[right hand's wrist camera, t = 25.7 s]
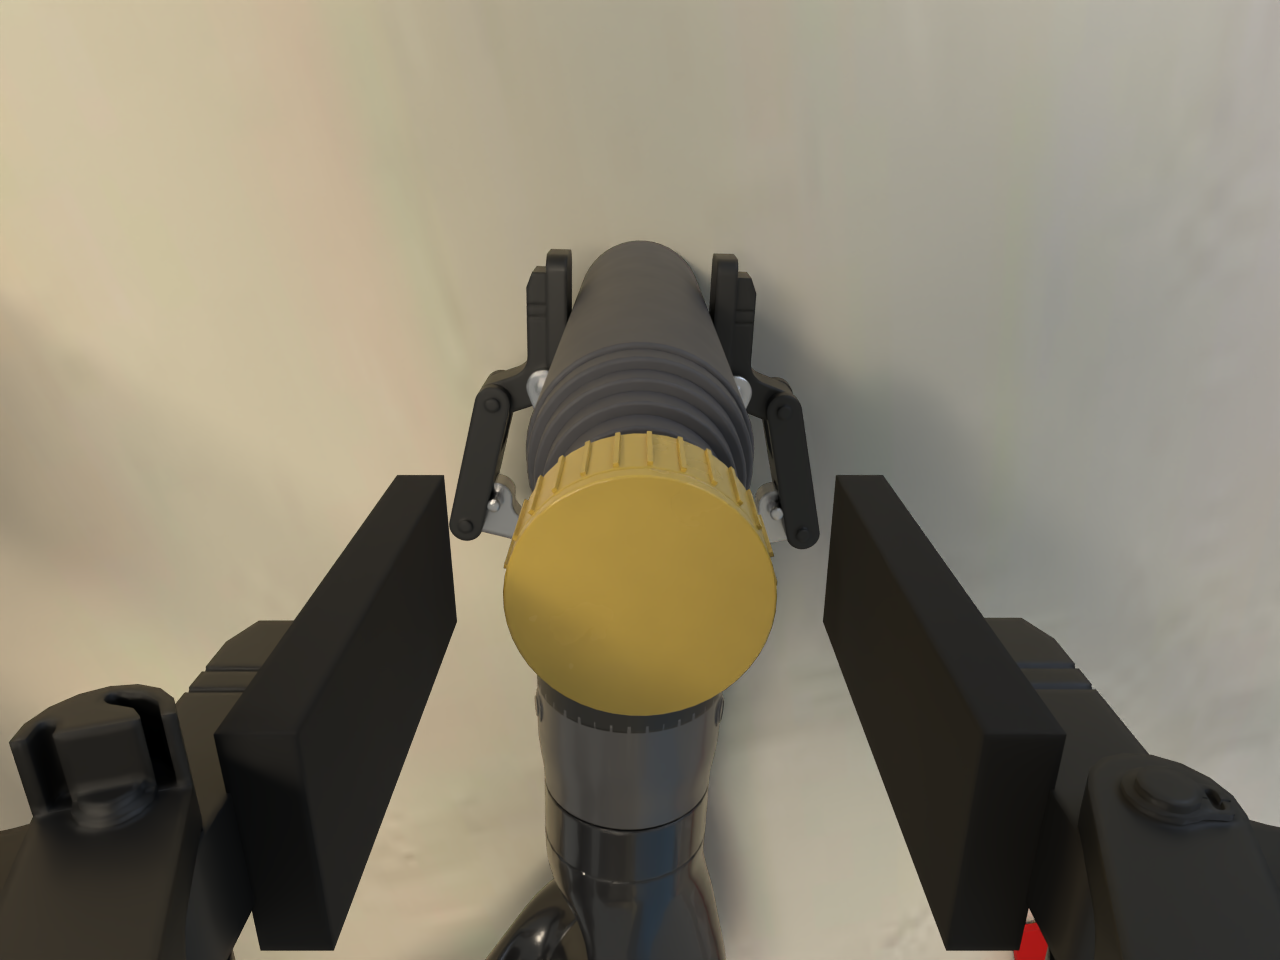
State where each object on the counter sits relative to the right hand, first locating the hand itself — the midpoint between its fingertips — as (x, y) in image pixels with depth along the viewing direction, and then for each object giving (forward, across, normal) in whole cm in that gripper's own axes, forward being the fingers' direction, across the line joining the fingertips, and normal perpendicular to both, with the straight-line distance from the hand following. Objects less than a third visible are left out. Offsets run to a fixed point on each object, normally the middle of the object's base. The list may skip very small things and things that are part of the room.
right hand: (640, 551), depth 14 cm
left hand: (+17, 0, -3) cm, 17 cm away
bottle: (+23, 0, 0) cm, 23 cm away
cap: (-1, 0, 0) cm, 1 cm away
